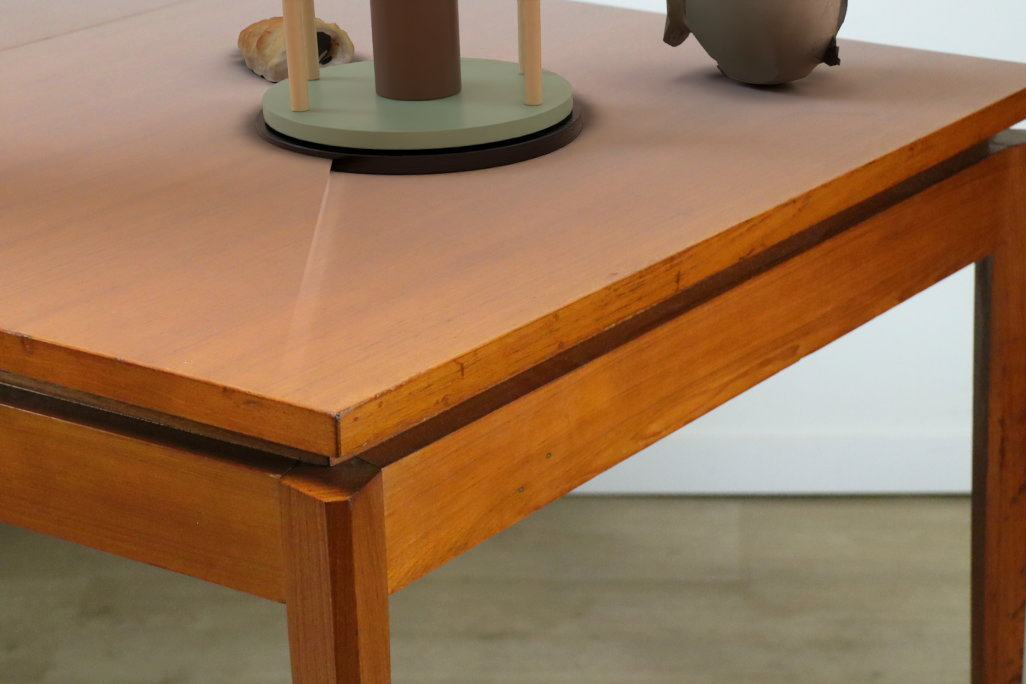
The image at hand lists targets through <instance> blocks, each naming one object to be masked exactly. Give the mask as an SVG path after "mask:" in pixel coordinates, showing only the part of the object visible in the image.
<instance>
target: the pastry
mask: <svg viewBox="0 0 1026 684" xmlns="http://www.w3.org/2000/svg"><path fill="white" fill-rule="evenodd" d="M315 20H316V33H317V46H318V58H319V69H320V68H325V67H330V66H335V65H341V64H347V63H352V62H353V59H354V57H355V45H354V43H353V41H352V40H351V38H350V36H349V34H348V33H347V32H348V31H346V30H344V29H341V28H340V26H339V25H338V24H337V22H331V23H329V22H325V21H324V20H323V19H321V18H320V17H315ZM237 48H238V50H239V53H240V54H241V56H242V57H243V58H244V61H245V64H246V67H247V68H248V70H250V71H253V73H254V74H255V75H258V76H259V77H261V76H263V77H264V79H265V80H266V81H268V82H274V83H275V82H276V83H278V82H280V81H282V80H285V79H287V78H289V76H288V65H287V53H286V42H285V31H284V19H283V15H282V16H272V17H269V18H265V19H261V20H259V21H257V22H253V23H251V24H250V25H248V26H246V27H245V28H244V29H242V30H240V32H239V35H238V38H237Z"/></svg>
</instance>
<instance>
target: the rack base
mask: <svg viewBox="0 0 1026 684" xmlns="http://www.w3.org/2000/svg"><path fill="white" fill-rule="evenodd" d="M582 116H583V115H582V106H581V104H580V103H579V101H578V100H577V99H576V98H575V97H573V108H572V110H571V113H570V114H569V115H568V116H567V117H566V118H565V119H563V120H562V121H560V122H558V123H557V124H555V125H552V126H550V127H548V128H546V129H543V130H540V131H537V132H534V133H531V134H527V135H524V136H520V137H516V138H511V139H507V140H502V141H497V142H491V143H484V144H477V145H469V146H461V147H449V148H437V149H411V150H387V149H363V148H350V147H340V146H332V145H326V144H319V143H314V142H309V141H305V140H301V139H297V138H294V137H291V136H288V135H285V134H283V133H281V132H278V131H276V130H275V129H273V128H272V127H270V126H269V125H268V124H267V123H266V121H265V119H264V116H263V108H261V109H260V110H259V111H258V112H257V114H256V116H255V121H254V122H255V123H254V124H255V130H256V132H257V134H258V135H259V136H260V137H261V138H262V140H264V141H265V142H267V143H269V144H270V145H273V146H275V147H277V148H280V149H282V150H286V151H289V152H291V153H295V154H299V155H304V156H308V157H314V158H320V159H327V160H331V163H330V168H329V171H338V172H345V173H346V172H347V173H358V174H371V175H376V174H377V175H378V174H379V175H423V174H426V175H427V174H443V173H454V172H464V171H465V172H466V171H473V170H481V169H482V170H483V169H488V168H493V167H499V166H500V167H501V166H505V165H511V164H514V163H518V162H523V161H526V160H531V159H534V158H537V157H540V156H544V155H545V154H549V153H551V152H554V151H557V150H559V149H560V148H562V147H564V146H566V145H568V144H570V143H571V142H572V141H574V140H575V139H576V138H577V137H578V135H579V134H580V132H581V129H582V128H583V127H582V126H583V125H582V124H583V123H582V119H583V118H582Z"/></svg>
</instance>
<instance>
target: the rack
mask: <svg viewBox="0 0 1026 684" xmlns="http://www.w3.org/2000/svg"><path fill="white" fill-rule="evenodd" d="M281 4H282V5H281V7H282V16H283V19H284V31H285V42H286V53H287V65H288V76H289V78H287V79H285V80H282V81H280V82H276V83H275V84H272V85H271V86H270V87H269V88H267V89H266V90H265V92H264V93H263V94H262V99H261V105H262V109H263V116H264V119H265V121H266V123H267V124H268V125H269V126H270V127H272V128H273V129H275V130H276V131H278V132H281V133H283V134H285V135H288V136H291V137H294V138H297V139H301V140H305V141H309V142H314V143H319V144H326V145H332V146H340V147H350V148H363V149H387V150H411V149H437V148H449V147H461V146H469V145H477V144H484V143H491V142H497V141H502V140H507V139H511V138H516V137H520V136H524V135H527V134H531V133H534V132H537V131H540V130H543V129H546V128H548V127H550V126H552V125H555V124H557V123H558V122H560V121H562V120H563V119H565V118H566V117H567V116H568V115H569V114H570V113H571V110H572V108H573V98H574V89H573V85H572V84H571V82H570V81H569V80H568V79H566V78H565V77H564V76H562V75H561V74H559V73H556V72H554V71H551V70H548V69H545V68H542V26H541V25H542V24H541V23H542V21H541V20H542V19H541V17H542V15H541V0H516V7H517V8H516V11H517V13H516V15H517V51H518V53H517V54H518V62H514V61H509V60H501V59H500V60H499V59H491V58H479V57H462V56H461V39H460V38H461V37H460V36H461V35H460V16H459V15H460V14H459V0H369V8H370V9H369V10H370V11H369V13H370V24H371V27H370V28H371V39H372V40H371V42H372V55H373V56H372V57H373V60H363V61H355V62H350V63H347V64H341V65H335V66H330V67H325V68H320V69H319V58H318V46H317V33H316V20H315V18H316V11H315V10H316V9H315V0H281Z"/></svg>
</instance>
